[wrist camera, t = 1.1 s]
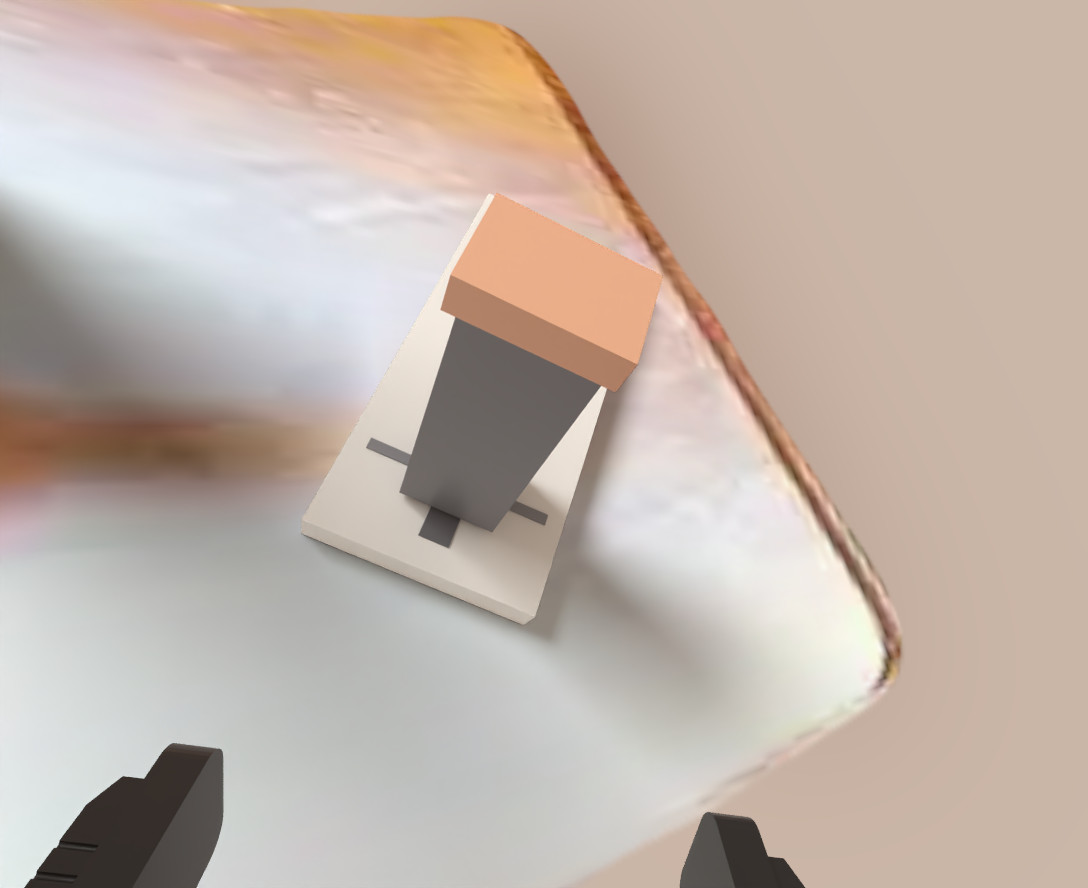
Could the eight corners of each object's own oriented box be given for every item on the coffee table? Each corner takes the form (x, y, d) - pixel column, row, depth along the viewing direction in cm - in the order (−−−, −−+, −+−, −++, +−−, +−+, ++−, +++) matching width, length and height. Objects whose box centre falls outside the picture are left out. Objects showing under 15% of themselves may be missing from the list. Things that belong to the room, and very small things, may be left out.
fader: (389, 488, 31) (450, 274, 18) (421, 424, 33) (496, 192, 20) (501, 536, 32) (637, 364, 19) (525, 471, 34) (663, 276, 21)
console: (301, 533, 31) (301, 518, 29) (482, 215, 45) (489, 192, 43) (523, 625, 32) (535, 616, 31) (631, 289, 46) (644, 270, 45)
